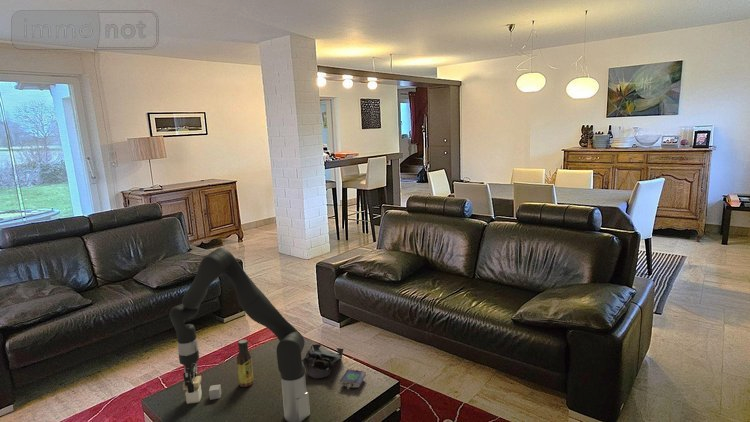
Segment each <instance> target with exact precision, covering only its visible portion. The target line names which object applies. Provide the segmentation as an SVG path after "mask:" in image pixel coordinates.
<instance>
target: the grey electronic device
mask: <svg viewBox="0 0 750 422" xmlns="http://www.w3.org/2000/svg"><path fill="white" fill-rule="evenodd" d="M366 376H367V372H366V371H364V370H358V369H356V370H354V369H349V368H348V369H347V370H346V371H345V372H344V374H343V375H342V377H341V378H340V380H339V384H340V385H341V386H344V387H346V389H347V390H350V388H360V386H361V385H362V383H363V381H364V379H365V377H366Z"/></svg>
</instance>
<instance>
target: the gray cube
mask: <svg viewBox="0 0 750 422" xmlns="http://www.w3.org/2000/svg"><path fill="white" fill-rule="evenodd" d="M208 396H209V400H210V401H211V400H216V399H217V400H218V399H220V398H221V396H222V386H221V384H213V385H210V386H209V389H208Z"/></svg>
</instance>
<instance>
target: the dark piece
mask: <svg viewBox="0 0 750 422" xmlns="http://www.w3.org/2000/svg"><path fill="white" fill-rule="evenodd" d="M322 345H323V343H322V344H321V343H319V344H312V345H311V346H310V348H309V349H308V350H307V352H306V354H305V355H304V357H303V359H302V358H301V359H302V364H303V365H304V367H305V373H307V375H308V377H311V378H313V379H321V378H325V377H328V376H330V375H331V373H332V370H333V368H334V367H336V362H337V361H338V360H340V359H342V358H343V354H344V348H341V347H340V348H339V347H338V348H337V347H336V350H337V352H338V353H337V352H332V351H329V350H324V349H321V347H322Z"/></svg>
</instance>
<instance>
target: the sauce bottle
mask: <svg viewBox="0 0 750 422" xmlns="http://www.w3.org/2000/svg"><path fill="white" fill-rule="evenodd" d="M248 343H249V341H248V340H247V339H241V340H239V341H237V346H238V353H237V356H236V364H237V365H236V366H237V377H238V384H239V386H240V387H241V388H246V387H247V388H248V387H250V386H252V385H253V383H254V371H253V369H254V368H253V358H252V356H251V353H250V351H249V348H248V346H249V345H248Z"/></svg>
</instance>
